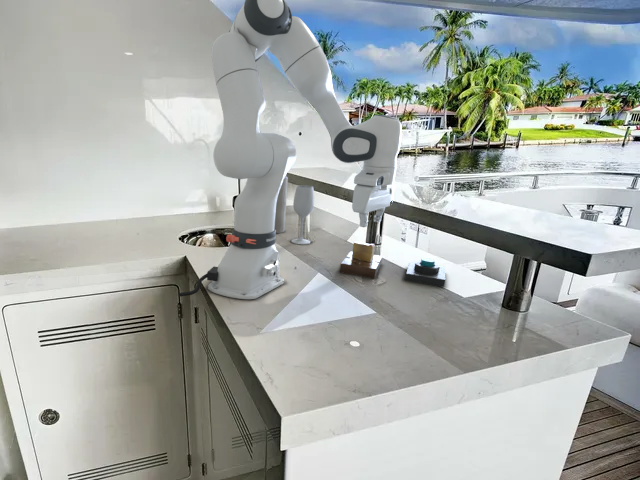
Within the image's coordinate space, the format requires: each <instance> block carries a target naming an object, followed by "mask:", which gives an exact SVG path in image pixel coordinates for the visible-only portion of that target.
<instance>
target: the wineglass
mask: <svg viewBox="0 0 640 480" xmlns="http://www.w3.org/2000/svg"><path fill="white" fill-rule="evenodd" d="M292 205H293V210H294V212H295V214H297V216H298V217H299V218H300V220H301V221H300V222H301V223H300V224H301V225H300V235H299V237H298V238H293V239H291V243H293V244H295V245H309V244H311V240H309V239H305V238H304V237H303V231H304V220H305V218H307V217H308V216H309V215H311V213H312V212H313V210H314V208H315V190H314V186H313V185H304V184H303V185H302V184H301V185H296V188H295V192H294V196H293V203H292Z"/></svg>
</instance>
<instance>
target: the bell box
mask: <svg viewBox="0 0 640 480" xmlns="http://www.w3.org/2000/svg"><path fill="white" fill-rule="evenodd" d="M404 281H405V282H406V281H407V282H412V283H419V284H425V285H430V286H437V287H443V288H445V284H446V266H441V265H440V264H438V263H436V262H435V264H434V267H427V266H423V265H421V260H417V261H415V262H413V261H408V265H407V270H406V273H405V278H404Z"/></svg>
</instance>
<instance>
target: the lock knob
mask: <svg viewBox="0 0 640 480" xmlns="http://www.w3.org/2000/svg"><path fill="white" fill-rule="evenodd" d="M375 249H376V244H375V243H367V242H362V241H357V240H356V241H354V242H353V246H352V252H353V253H352V258H354V259H359V260H363V261H367V262H372V261H373V257H374V255H375V251H376V250H375Z"/></svg>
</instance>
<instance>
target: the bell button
mask: <svg viewBox="0 0 640 480" xmlns="http://www.w3.org/2000/svg"><path fill="white" fill-rule="evenodd" d="M420 261H421V265H423V266H427V267H434V264H435V263H436V260H435V259H433V258H428V257H422V258H421V260H420Z"/></svg>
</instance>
